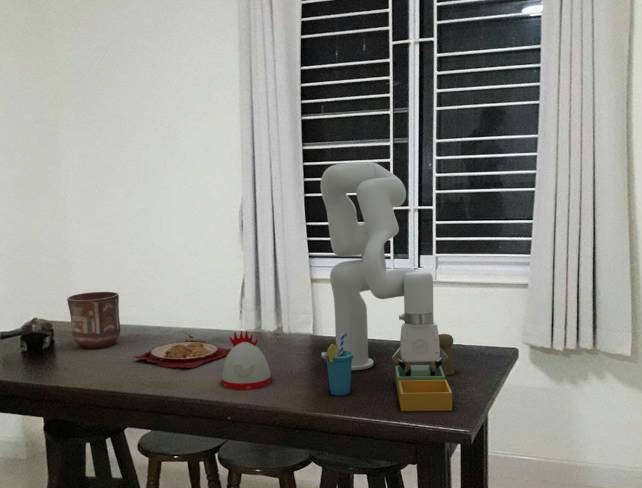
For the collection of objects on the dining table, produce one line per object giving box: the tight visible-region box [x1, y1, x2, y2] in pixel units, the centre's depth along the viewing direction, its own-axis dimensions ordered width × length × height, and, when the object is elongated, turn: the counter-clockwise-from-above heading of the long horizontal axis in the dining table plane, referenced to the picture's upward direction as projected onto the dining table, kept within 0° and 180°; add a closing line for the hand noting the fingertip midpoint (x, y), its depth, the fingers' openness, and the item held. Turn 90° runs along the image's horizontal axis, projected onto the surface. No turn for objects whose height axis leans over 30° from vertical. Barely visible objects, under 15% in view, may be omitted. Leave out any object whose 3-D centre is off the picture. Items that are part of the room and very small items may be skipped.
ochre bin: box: [397, 379, 453, 412], centre depth 190 cm, size 12×11×4 cm
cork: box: [434, 333, 456, 376], centre depth 216 cm, size 6×6×11 cm
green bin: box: [394, 364, 446, 392], centre depth 204 cm, size 12×11×4 cm
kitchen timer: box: [221, 330, 272, 390], centre depth 216 cm, size 14×14×15 cm
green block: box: [410, 364, 430, 376], centre depth 203 cm, size 5×5×5 cm
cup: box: [325, 333, 353, 396], centre depth 203 cm, size 14×8×15 cm, turn 159°
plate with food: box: [133, 334, 232, 369], centre depth 249 cm, size 24×26×3 cm
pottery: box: [66, 291, 121, 350], centre depth 271 cm, size 18×18×18 cm
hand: (420, 384), depth 204 cm, fingers closed on green block, 5 cm apart
